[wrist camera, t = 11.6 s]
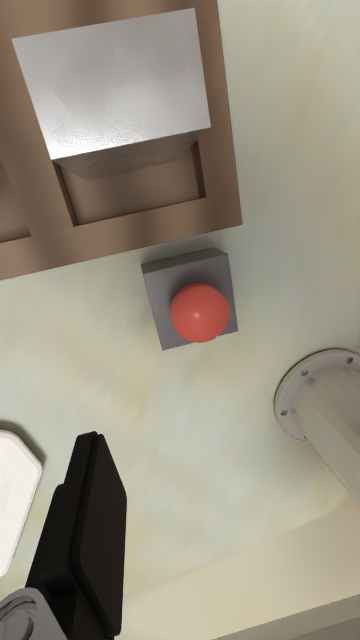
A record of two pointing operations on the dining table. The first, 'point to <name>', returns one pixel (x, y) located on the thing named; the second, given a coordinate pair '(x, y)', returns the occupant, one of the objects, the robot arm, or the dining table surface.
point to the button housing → (178, 273)
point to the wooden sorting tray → (110, 129)
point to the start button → (199, 312)
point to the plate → (15, 492)
